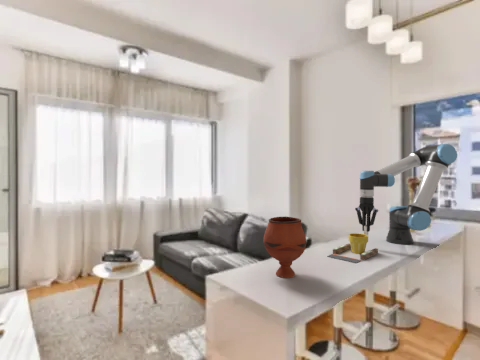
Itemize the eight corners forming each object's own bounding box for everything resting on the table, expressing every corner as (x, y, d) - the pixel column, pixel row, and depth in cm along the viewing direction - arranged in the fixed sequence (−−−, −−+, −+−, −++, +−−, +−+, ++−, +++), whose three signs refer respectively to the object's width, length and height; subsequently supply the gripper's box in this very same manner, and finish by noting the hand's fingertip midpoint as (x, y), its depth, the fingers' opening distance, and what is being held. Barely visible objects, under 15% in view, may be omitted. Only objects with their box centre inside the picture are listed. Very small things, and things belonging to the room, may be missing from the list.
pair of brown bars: (348, 247, 175) (348, 242, 175) (378, 253, 162) (378, 248, 162) (332, 253, 162) (332, 248, 162) (363, 260, 149) (363, 255, 149)
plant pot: (370, 255, 158) (370, 237, 158) (350, 254, 160) (350, 236, 160) (365, 250, 168) (365, 233, 168) (347, 249, 171) (347, 232, 170)
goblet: (278, 264, 144) (277, 214, 143) (314, 273, 131) (314, 218, 131) (255, 275, 129) (254, 219, 128) (293, 286, 117) (293, 224, 116)
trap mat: (332, 254, 161) (332, 253, 161) (361, 260, 149) (361, 259, 149) (327, 256, 156) (327, 255, 156) (356, 263, 145) (356, 262, 145)
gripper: (353, 196, 173) (352, 235, 174) (375, 197, 164) (374, 239, 164) (358, 195, 178) (358, 234, 179) (380, 197, 169) (380, 237, 170)
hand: (366, 236), depth 172 cm, fingers closed
